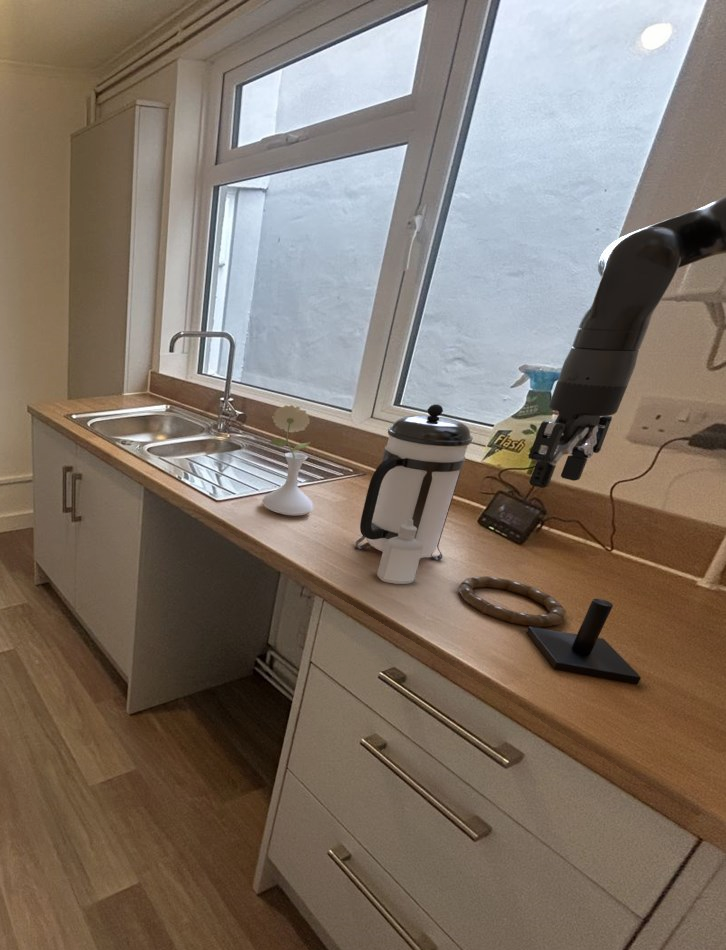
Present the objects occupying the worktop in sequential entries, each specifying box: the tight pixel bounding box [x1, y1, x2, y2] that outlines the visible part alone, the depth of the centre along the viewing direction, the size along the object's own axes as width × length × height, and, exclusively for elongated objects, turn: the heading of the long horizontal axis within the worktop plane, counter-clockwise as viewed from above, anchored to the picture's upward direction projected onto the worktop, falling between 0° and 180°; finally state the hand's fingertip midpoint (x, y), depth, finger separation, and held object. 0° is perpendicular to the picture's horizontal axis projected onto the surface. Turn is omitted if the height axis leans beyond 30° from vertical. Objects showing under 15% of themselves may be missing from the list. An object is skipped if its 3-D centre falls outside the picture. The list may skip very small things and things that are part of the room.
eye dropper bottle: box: [376, 519, 423, 585], centre depth 94 cm, size 4×6×12 cm
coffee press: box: [355, 403, 473, 561], centre depth 99 cm, size 17×16×30 cm
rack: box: [526, 598, 642, 685], centre depth 74 cm, size 9×9×9 cm
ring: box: [457, 575, 567, 628], centre depth 88 cm, size 14×14×2 cm
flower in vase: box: [262, 404, 315, 516], centre depth 122 cm, size 13×11×25 cm
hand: (553, 482), depth 84 cm, fingers open, 8 cm apart
